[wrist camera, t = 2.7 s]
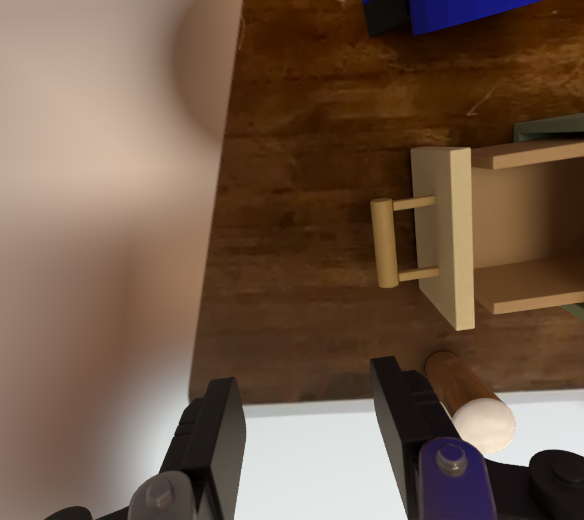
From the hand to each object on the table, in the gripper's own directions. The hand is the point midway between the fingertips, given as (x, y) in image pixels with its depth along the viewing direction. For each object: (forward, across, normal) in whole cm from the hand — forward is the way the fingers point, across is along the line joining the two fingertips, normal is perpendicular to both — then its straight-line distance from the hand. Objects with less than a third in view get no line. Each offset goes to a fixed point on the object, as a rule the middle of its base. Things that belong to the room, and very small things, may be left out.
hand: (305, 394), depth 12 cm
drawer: (+20, -14, 0) cm, 25 cm away
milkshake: (+21, -11, +14) cm, 28 cm away
